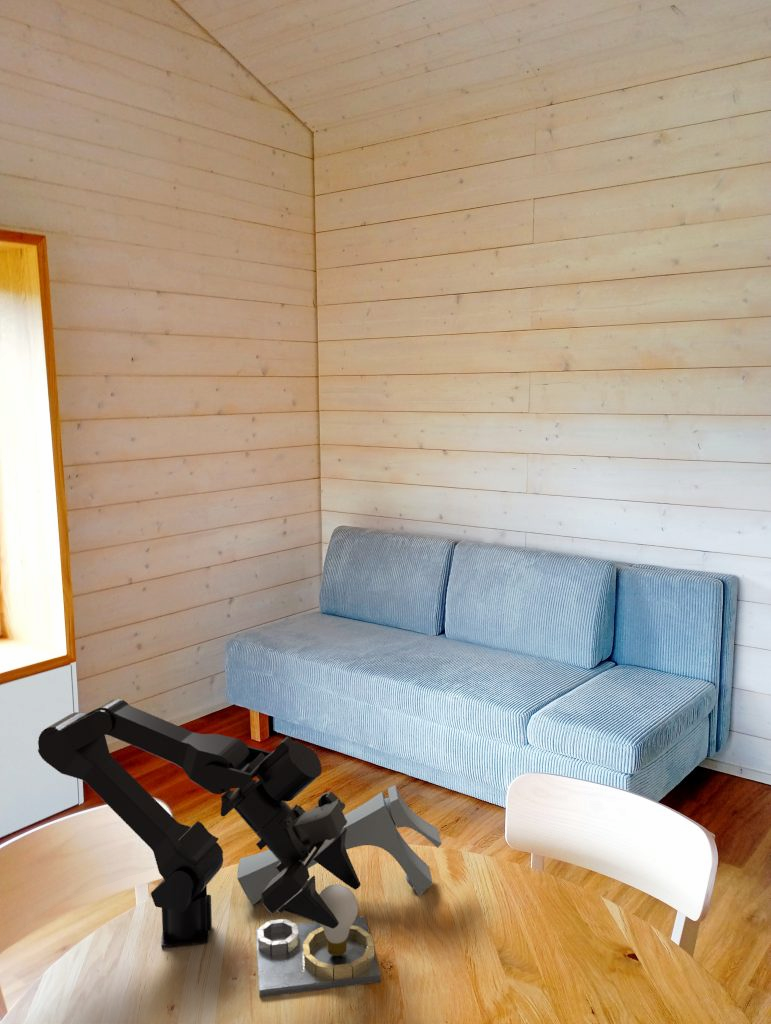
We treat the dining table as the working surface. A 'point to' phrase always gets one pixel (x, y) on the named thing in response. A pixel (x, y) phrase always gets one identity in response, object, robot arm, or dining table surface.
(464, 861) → the dining table surface
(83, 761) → the robot arm
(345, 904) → the light bulb
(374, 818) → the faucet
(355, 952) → the plate
